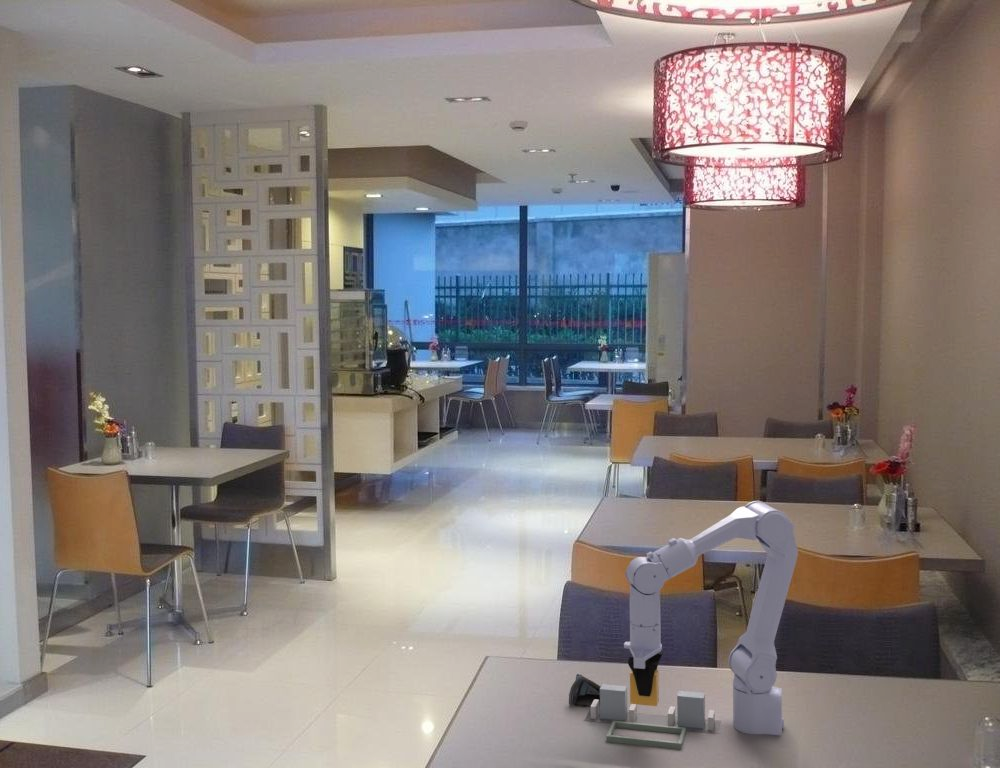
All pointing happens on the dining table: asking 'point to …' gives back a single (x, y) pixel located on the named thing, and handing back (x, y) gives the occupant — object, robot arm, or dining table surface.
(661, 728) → the tray
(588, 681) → the chocolate cake
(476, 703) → the dining table surface
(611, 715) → the block
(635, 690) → the block
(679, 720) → the block
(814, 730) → the dining table surface
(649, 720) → the block
